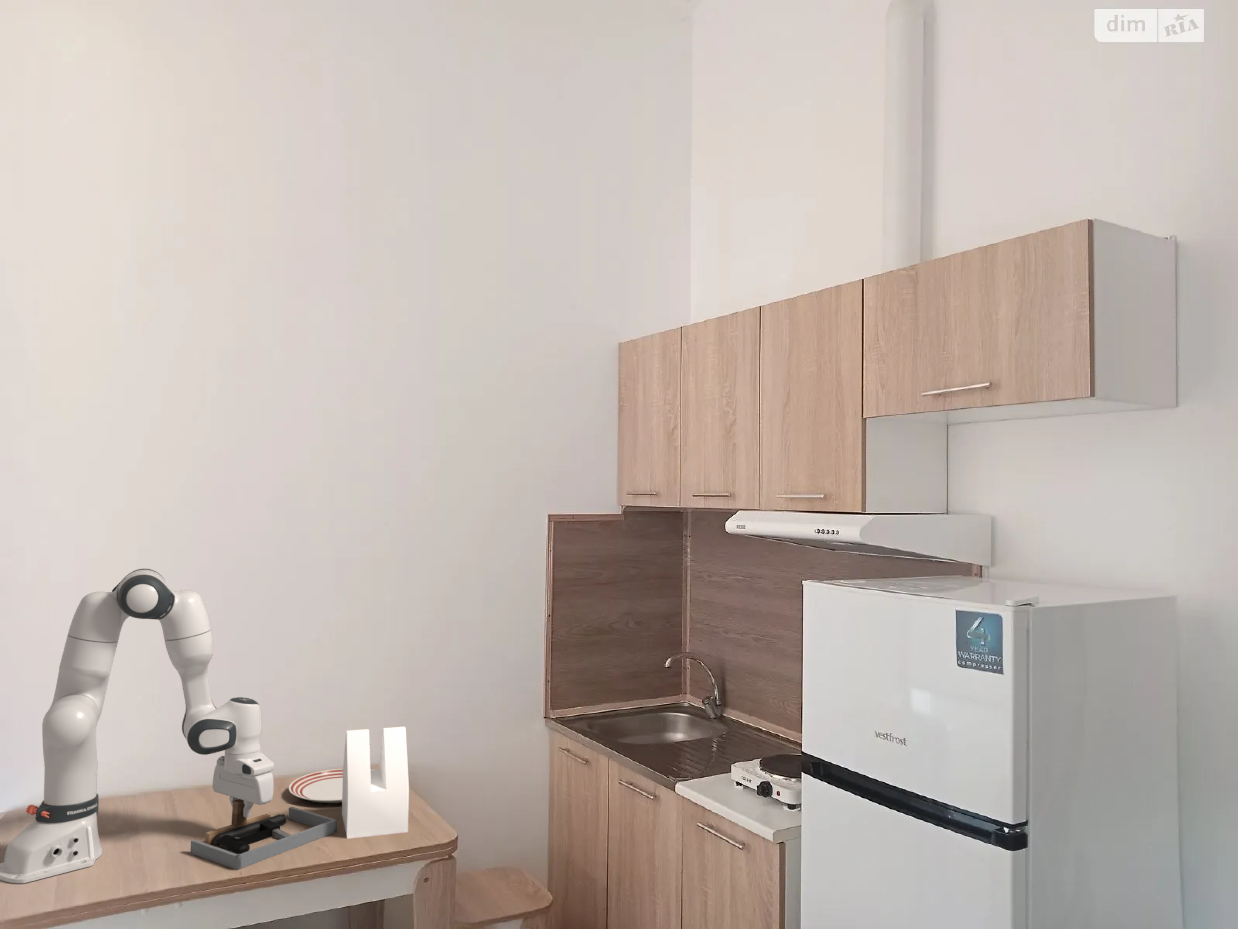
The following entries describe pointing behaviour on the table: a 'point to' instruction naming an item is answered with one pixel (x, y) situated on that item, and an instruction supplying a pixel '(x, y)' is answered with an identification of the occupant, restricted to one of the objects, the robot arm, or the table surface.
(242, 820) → the walnut scraper
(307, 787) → the dinner plate
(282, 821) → the black angular piece
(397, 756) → the white fork-shaped stand
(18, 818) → the table surface
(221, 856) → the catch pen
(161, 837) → the table surface
